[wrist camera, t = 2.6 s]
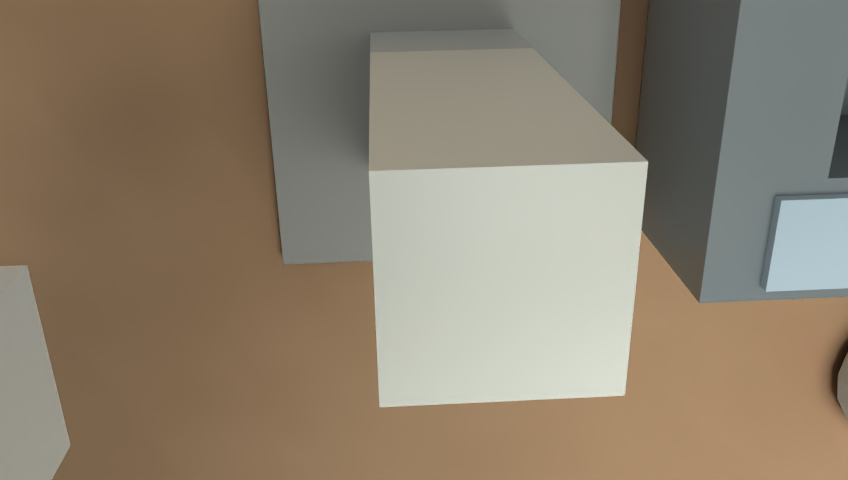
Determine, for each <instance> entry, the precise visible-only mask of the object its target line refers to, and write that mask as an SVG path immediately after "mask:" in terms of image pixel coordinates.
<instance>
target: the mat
mask: <svg viewBox="0 0 848 480" xmlns="http://www.w3.org/2000/svg"><path fill="white" fill-rule="evenodd" d="M258 4H259V15H260V25H261V36H262V46H263V57H264V67H265V77H266V88H267V98H268V109H269V119H270V130H271V140H272V151H273V161H274V172H275V182H276V193H277V203H278V214H279V224H280V234H281V245H282V255H283V264H307V263H332V262H358V261H373V253H372V231H371V209H370V187H369V105H370V32H404V31H442V30H481V29H514V30H515V31H516V32H517V33H518V34H519V35H520V36H521V37H522V38H523V39H524V40H525V41H526V42H527V43H528V44H529V45H530V46H531V47H532V48H533V49H534V50H536V51H537V52H538V53H539V54H540V55H541V56H542V57H543V58H544V59H545V60H546V61H547V62H548V63H549V64H550V65H551V66H552V67H553V68H554V69H555V70H556V71H557V72H558V73H559V74H560V75H561V76H562V77H563V78H564V79H565V80H566V81H567V82H568V83H569V84H570V85H571V86H572V87H573V88H574V89H575V90H576V91H577V92H578V93H579V94H580V95H581V96H582V97H583V98H584V99H585V100H586V101H587V102H588V103H589V104H590V105H591V106H592V107H593V108H594V109H595V110H596V111H597V112H598V113H599V114H601V115H602V116H603V117H604V118H605V119H606V120H607V121H608V122H609V123H610V124H611V120H612V107H613V95H614V82H615V69H616V57H617V44H618V32H619V19H620V7H621V0H258Z"/></svg>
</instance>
